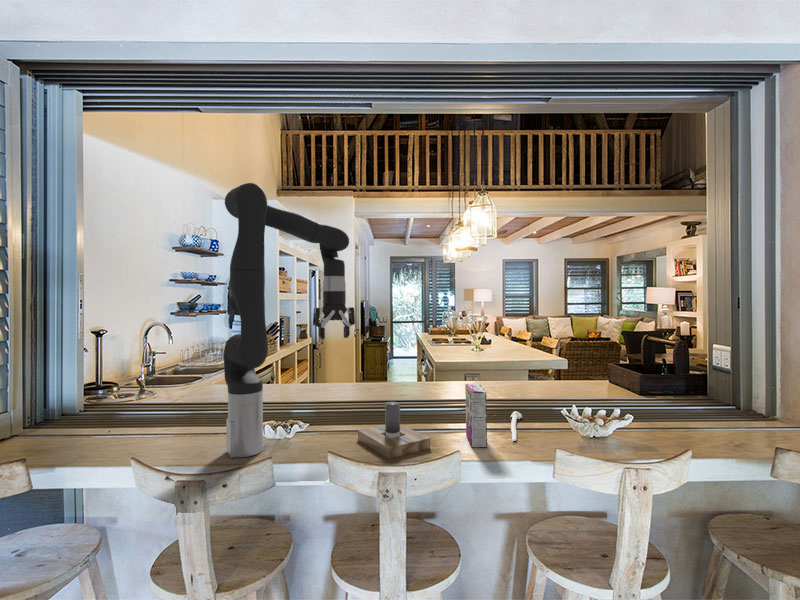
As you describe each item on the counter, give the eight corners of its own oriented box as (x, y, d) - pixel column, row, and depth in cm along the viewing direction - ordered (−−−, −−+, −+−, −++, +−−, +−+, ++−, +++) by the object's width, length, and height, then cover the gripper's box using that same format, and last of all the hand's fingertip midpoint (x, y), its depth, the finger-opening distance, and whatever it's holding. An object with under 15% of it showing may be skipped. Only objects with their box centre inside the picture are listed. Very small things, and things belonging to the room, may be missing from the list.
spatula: (524, 445, 122) (524, 435, 122) (510, 443, 123) (510, 434, 123) (522, 418, 149) (522, 410, 149) (510, 417, 150) (510, 410, 150)
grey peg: (390, 447, 119) (390, 406, 119) (382, 443, 123) (382, 403, 123) (402, 444, 122) (402, 404, 122) (395, 440, 125) (394, 401, 125)
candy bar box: (464, 435, 130) (464, 383, 130) (480, 435, 130) (480, 383, 130) (470, 448, 119) (470, 391, 119) (487, 448, 118) (487, 391, 118)
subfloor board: (388, 458, 111) (388, 447, 111) (358, 440, 126) (358, 429, 126) (430, 448, 118) (430, 437, 118) (396, 431, 134) (396, 422, 134)
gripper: (318, 289, 131) (318, 340, 131) (358, 290, 139) (358, 338, 139) (309, 290, 137) (310, 338, 137) (348, 290, 145) (348, 336, 145)
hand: (334, 338), depth 138 cm, fingers open, 8 cm apart
